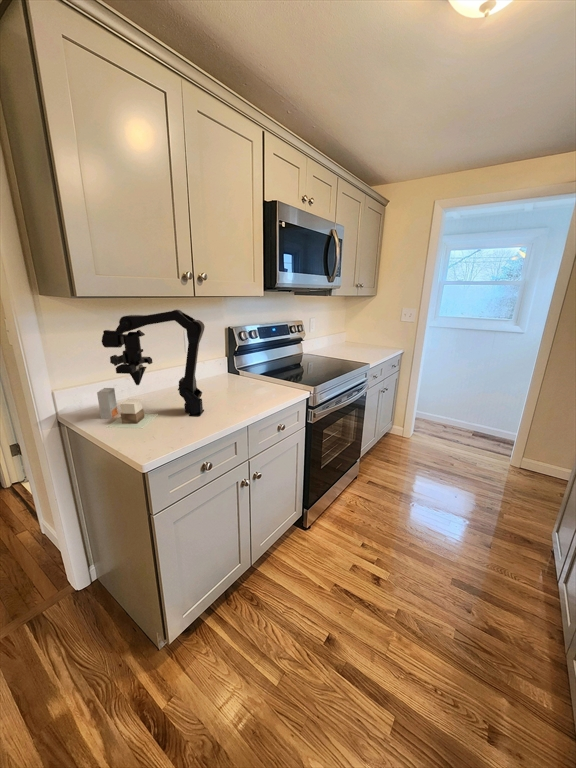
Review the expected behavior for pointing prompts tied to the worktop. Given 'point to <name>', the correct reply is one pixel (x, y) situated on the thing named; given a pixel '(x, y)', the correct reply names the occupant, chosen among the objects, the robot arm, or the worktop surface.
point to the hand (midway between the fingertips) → (137, 384)
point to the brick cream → (131, 406)
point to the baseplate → (141, 424)
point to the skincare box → (107, 403)
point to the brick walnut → (132, 417)
